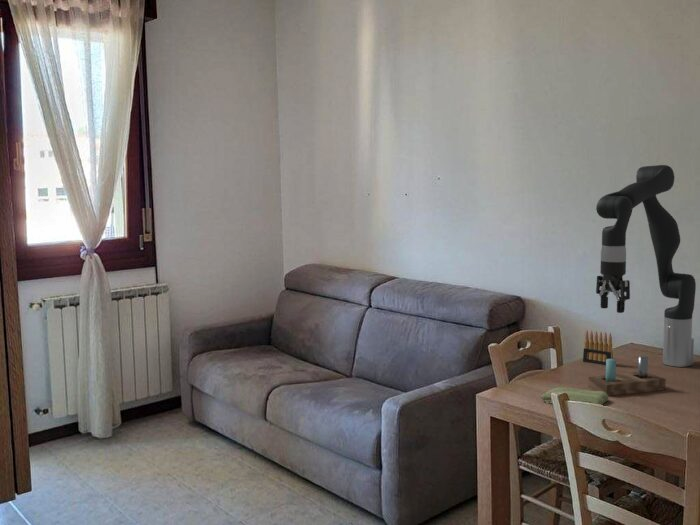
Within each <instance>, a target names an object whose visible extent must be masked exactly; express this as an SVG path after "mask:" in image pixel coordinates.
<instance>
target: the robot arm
mask: <svg viewBox="0 0 700 525" xmlns="http://www.w3.org/2000/svg"><path fill="white" fill-rule="evenodd" d="M635 178H636V182H633V183H630V184H628V185H626V186H625V187H623V188H622V189H620V190H619V191H615V192H611V193H608V194H605V195H604V196H602V197H601V198H599V200H598V202H597V203H596V206H595V207H596V208H595V210H596V213H597V214H598V216H599V217H601V218H602V219H611V220H616V221H615V223H614V225H609V226H605V227H603V228H602V229H601V230H602V231H601V250H600V275H597V276H596V288H595V294H598V296H599V297H600V308H601V309H602V310H603V309H608V307H609V294H610V293H612V294H613V295H614V296H615V298H616V313H618V314H622V313H625V308H626V307H625V306H626V305H625V304H626V301H627V300H631V290H630V287H631V286H630V284H631V282H630V280H628V279H627V280H624V279H623V276H625V275H626V274H627V273H626V270H627V269H626V268H627V267H626V266H627V248H626V245H627V244H626V240H627V239H626V238H627V229H628V226H629V223H630V219H631V216H632V213H633V209H634V208H636V207H637V206H639V205H640V204H643V208H644V211H645V214H646V218H647V222H648V229H649V233H650V238H651V242H652V246H653V250H654V255H655V260H656V267H657V275H658V282H659V283H658V284H659V288H660V291H661V292H660V293H661V294H662V296H663V297H665V298H669V299H674V300H675V299H676V300H678V302H677V305H675V306H671V307H666V308H665V309H664V314H663V315H664V316H663V317H664V319H663V348H662V349H663V352H662V364H664V365H666V366H669V367H670V366H671V367H681V368H683V367H684V368H685V367H689V366H691V365H694V350H695V349H694V346H695V344H694V343H695V342H694V341H695V340H694V338H692V334H693V332H692V331H693V314H694V308H695V302H696V301H695V300H696V291H697V290H696V289H697V285H696V279H695V277H694V276H693V275H692V274H688V273H679V272H674V269H673V259H674V257H675V254H676V253H677V251H678V248H679V247H680V244H681V235H680V230H679V226H678V222H677V221H676V219H675V218H674V217H673V216H672V215H671V214H670V212H669V211H667V210H666V208H665V207H663V206H662V204H661V203H660V201H659V200H658V198H657V195H658V194H662V193H665V192H668V191H670V190H672V188H673V186H674V184H675V173H674V170H673V168H672V167H671V166H669V165H666V164H657V165H647V166H641V167H639V168H638V169H637V171H636V177H635Z"/></svg>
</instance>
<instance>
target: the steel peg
mask: <svg viewBox="0 0 700 525" xmlns="http://www.w3.org/2000/svg"><path fill="white" fill-rule="evenodd" d="M648 370H649V357H648V356H647V355H638V356H637V372H638V378H641V379H644V378H647V377H648V373H649V371H648Z"/></svg>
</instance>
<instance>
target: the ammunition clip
mask: <svg viewBox="0 0 700 525" xmlns="http://www.w3.org/2000/svg"><path fill="white" fill-rule="evenodd" d="M607 335H608V336H607ZM612 340H613V337H612V334H611V332H610V333H609V334H607V332H606V331H605V332H604V334H603V332H602V331H600V332H599V335H598V331H597V330H596V331H595V332H594V333H593V330H590V332H589V331H588V330H587V329H586V330H585V334H584V341H583V343H584V344H583V352H582V353H583V354H582V355H583V356H582V362H583V363H588V364H593V365H594V364H595V365H603V366H606V359H614V357H613V356H614V355H613V353H614V352H613V341H612Z"/></svg>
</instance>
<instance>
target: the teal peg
mask: <svg viewBox="0 0 700 525" xmlns="http://www.w3.org/2000/svg"><path fill="white" fill-rule="evenodd" d="M616 374H617V360H616V359H614V358H613V359H606V365H605V375H606V381H607V382H614V381H616Z"/></svg>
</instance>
